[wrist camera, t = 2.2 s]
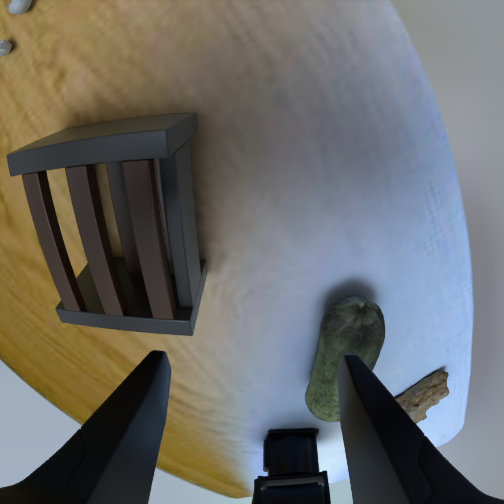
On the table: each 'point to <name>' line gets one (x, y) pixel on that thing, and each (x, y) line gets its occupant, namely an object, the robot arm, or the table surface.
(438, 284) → the table surface
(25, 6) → the game pieces
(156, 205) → the rack
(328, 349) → the vegetable
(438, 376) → the stone
